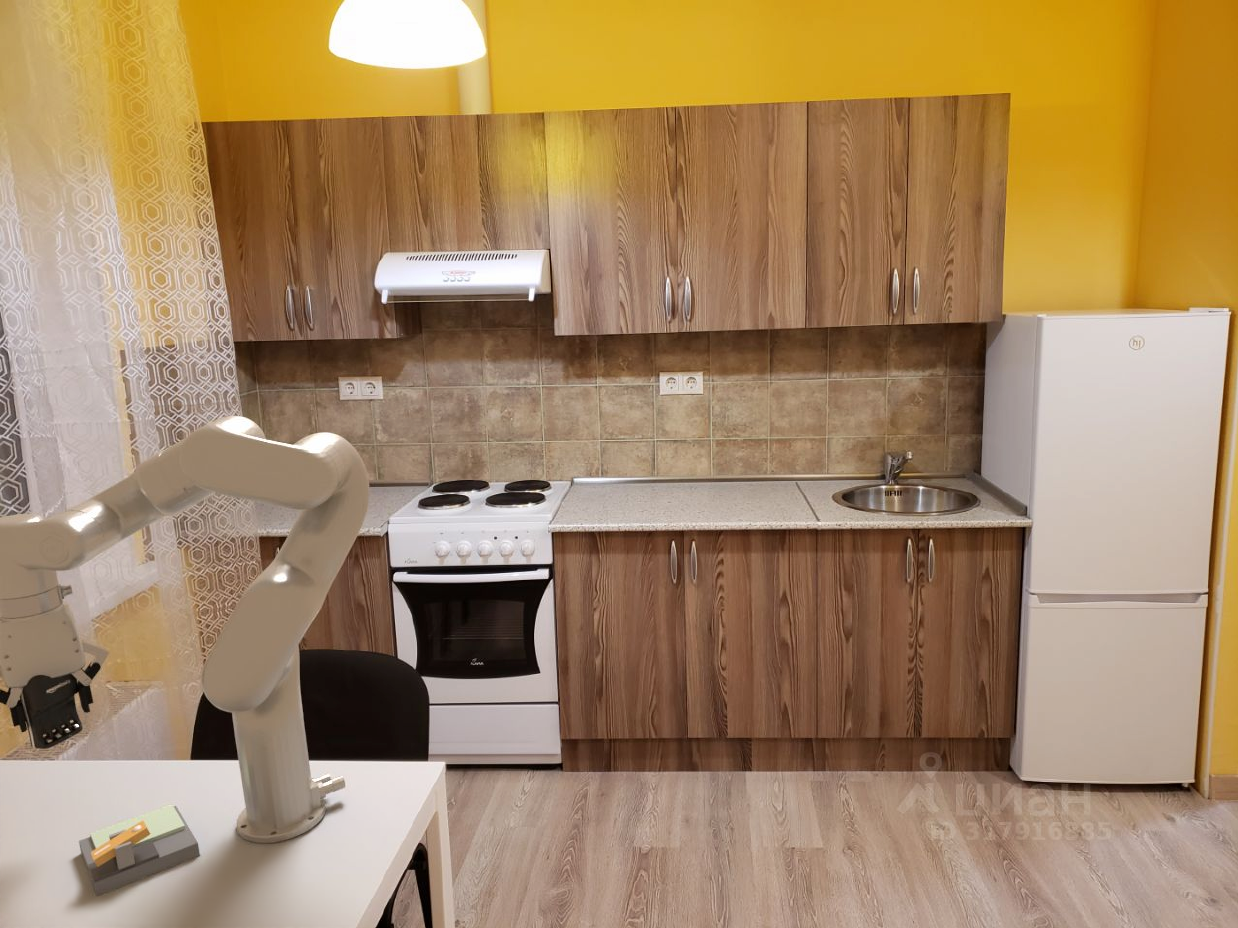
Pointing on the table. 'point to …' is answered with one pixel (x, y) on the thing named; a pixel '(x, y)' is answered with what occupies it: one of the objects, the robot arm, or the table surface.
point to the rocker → (119, 842)
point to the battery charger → (50, 709)
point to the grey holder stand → (140, 849)
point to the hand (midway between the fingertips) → (55, 718)
